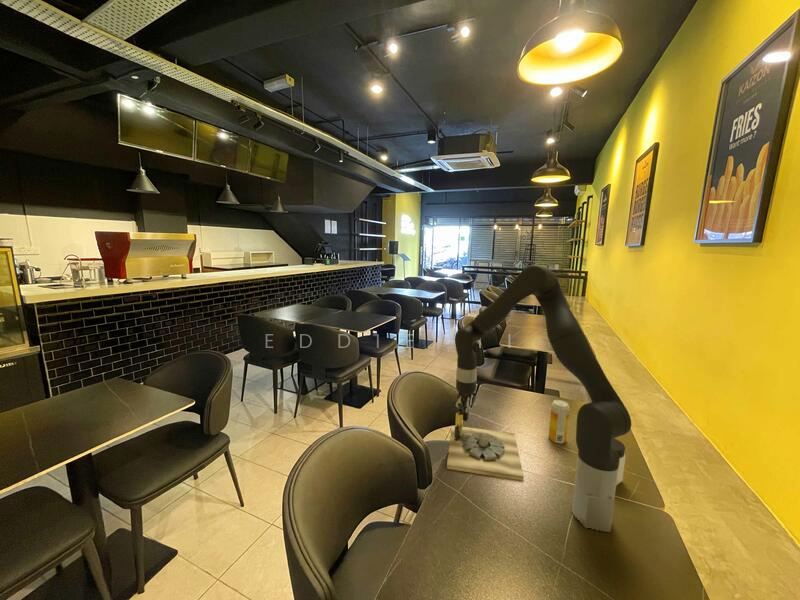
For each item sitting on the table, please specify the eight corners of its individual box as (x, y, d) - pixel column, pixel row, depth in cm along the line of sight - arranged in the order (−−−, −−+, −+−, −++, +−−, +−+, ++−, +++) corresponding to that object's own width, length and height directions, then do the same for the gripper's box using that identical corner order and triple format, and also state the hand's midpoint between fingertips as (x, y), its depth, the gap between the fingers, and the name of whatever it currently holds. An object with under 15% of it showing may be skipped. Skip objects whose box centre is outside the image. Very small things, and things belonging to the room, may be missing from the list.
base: (523, 480, 100) (524, 462, 99) (446, 468, 105) (447, 450, 104) (514, 436, 123) (515, 421, 122) (451, 428, 128) (452, 413, 127)
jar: (589, 479, 100) (593, 445, 98) (588, 464, 107) (592, 432, 105) (623, 490, 96) (628, 454, 94) (620, 473, 103) (625, 440, 101)
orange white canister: (562, 435, 124) (565, 399, 121) (568, 445, 118) (572, 407, 115) (546, 434, 125) (549, 398, 122) (552, 443, 119) (555, 406, 116)
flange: (509, 445, 115) (511, 422, 113) (493, 465, 104) (495, 440, 102) (464, 427, 126) (465, 405, 124) (445, 443, 115) (446, 420, 114)
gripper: (465, 386, 112) (464, 431, 115) (483, 375, 121) (482, 416, 125) (447, 380, 117) (446, 423, 120) (466, 370, 126) (465, 410, 130)
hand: (464, 419), depth 122 cm, fingers closed
